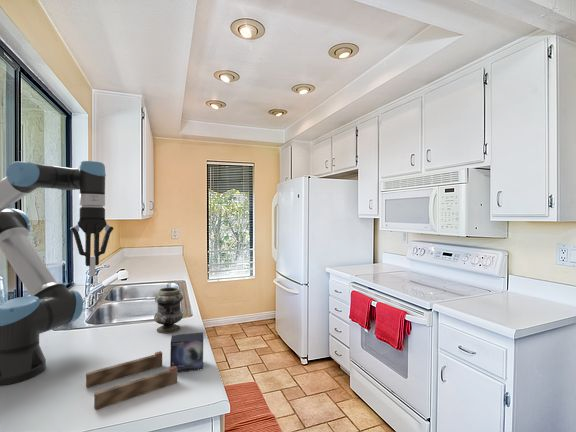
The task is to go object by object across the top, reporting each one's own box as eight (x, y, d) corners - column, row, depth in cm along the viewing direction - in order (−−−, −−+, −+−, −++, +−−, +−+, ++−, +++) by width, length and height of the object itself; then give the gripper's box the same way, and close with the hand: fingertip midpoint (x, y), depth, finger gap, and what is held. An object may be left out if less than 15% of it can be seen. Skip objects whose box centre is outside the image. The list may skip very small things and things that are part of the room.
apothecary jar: (183, 332, 141) (184, 291, 141) (154, 335, 137) (154, 293, 136) (181, 323, 152) (182, 285, 152) (154, 326, 148) (154, 287, 147)
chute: (95, 409, 86) (95, 392, 86) (85, 385, 97) (86, 370, 97) (177, 382, 100) (177, 367, 100) (160, 364, 111) (160, 351, 111)
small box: (169, 374, 105) (169, 341, 105) (170, 365, 111) (171, 334, 111) (203, 370, 108) (203, 338, 108) (202, 361, 114) (203, 331, 114)
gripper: (71, 206, 104) (70, 279, 105) (116, 207, 113) (115, 274, 113) (68, 206, 110) (68, 275, 111) (111, 207, 119) (110, 271, 119)
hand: (92, 275), depth 112 cm, fingers closed
